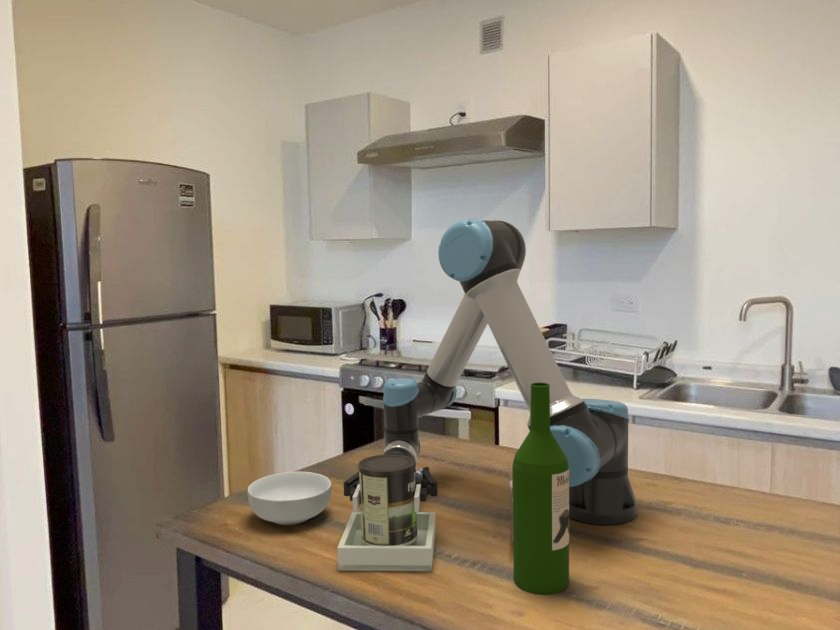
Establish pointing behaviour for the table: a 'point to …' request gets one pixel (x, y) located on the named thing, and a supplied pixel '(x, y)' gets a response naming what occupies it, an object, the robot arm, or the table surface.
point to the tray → (387, 549)
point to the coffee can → (388, 500)
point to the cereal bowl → (289, 496)
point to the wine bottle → (540, 504)
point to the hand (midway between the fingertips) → (385, 504)
